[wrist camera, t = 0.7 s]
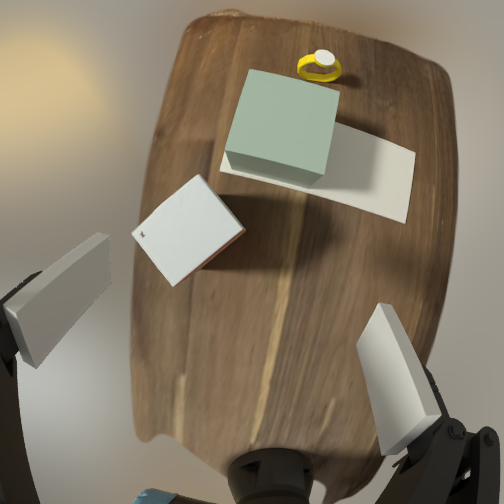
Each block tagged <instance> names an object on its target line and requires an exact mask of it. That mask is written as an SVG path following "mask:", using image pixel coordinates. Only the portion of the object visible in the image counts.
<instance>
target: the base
mask: <svg viewBox="0 0 504 504" xmlns="http://www.w3.org/2000/svg"><path fill="white" fill-rule="evenodd" d="M415 154H416V153H414V152H412V151H410V150H407V149H405V148H403V147H401V146H398V145H396V144H394V143H391V142H389V141H386V140H384V139H381V138H379V137H376V136H374V135H371V134H368V133H366V132H363V131H360V130H357V129H355V128H352V127H349V126H346V125H343V124H340V123H337V122H335V123H334V128H333V133H332V138H331V143H330V148H329V153H328V158H327V163H326V168H325V172H324V175H323V176H322V177H321V178H320V179H319V180H317V181H316V182H315V183H314V184H313V185H311V186H310V187H309V188H308V189H306V188H303V187H299V186H295V185H292V184H288V183H284V182H280V181H276V180H273V179H269V178H265V177H260V176H256V175H252V174H248V173H244V172H239V171H235V170H232V169H231V166H230V164H229V161H228V158H227V155H226V152H225V153H224V156H223V160H222V163H221V167H220V172H225V173H229V174H234V175H238V176H242V177H247V178H251V179H255V180H259V181H263V182H267V183H271V184H275V185H279V186H283V187H287V188H290V189H294V190H298V191H301V192H305V193H309V194H312V195H316V196H319V197H323V198H326V199H329V200H333V201H336V202H340V203H343V204H346V205H349V206H353V207H356V208H359V209H362V210H365V211H368V212H371V213H374V214H377V215H380V216H383V217H386V218H389V219H392V220H395V221H398V222H401V223H403V224H405V222H406V217H407V211H408V205H409V199H410V193H411V186H412V179H413V172H414V163H415Z"/></svg>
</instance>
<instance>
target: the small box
mask: <svg viewBox="0 0 504 504" xmlns="http://www.w3.org/2000/svg"><path fill="white" fill-rule="evenodd" d="M244 232H246V229H245V228H244V227H243V226H242V224H241V223H240V222H239V221H238V219H237V218H236V217H235V216H234V214H233V213H232V212H231V211H230V210H229V208H228V207H227V206H226V205H225V203H224V202H223V201H222V200H221V199H220V197H219V196H218V195H217V194H216V193H215V191H214V190H213V189H212V188H211V187H210V186H209V185H208V183H207V182H206V181H205V180H204V179H203V177H202V176H201V175H200V174H198V175H196V176H195V177H194V178H192V179H191V180H190V181H189V182H187V183H186V184H185V185H184V186H182V187H181V188H180V189H179V190H178V191H177V192H175V193H174V194H173V195H172V196H171V197H169V198H168V199H167V200H166V201H164V202H163V203H162V204H161V205H160V206H159V207H158V208H157V209H155V210H154V212H153V213H152V214H151V215H150V216H149V217H148V218H147V219H146V220H145V221H143V222H142V223H141V224H140V225H139V226H138V227H137V228H136V229H135V230H134V231H133V232H132V235H133V236H134V238H135V239H136V240H137V242H138V243H139V244H140V245H141V247H142V248H143V249H144V251H145V252H146V253H147V255H148V256H149V257H150V258H151V260H152V261H153V262H154V264H155V265H156V266H157V267H158V269H159V270H160V271H161V272H162V274H163V275H164V276H165V278H166V279H167V280H168V281H169V282H170V284H171V285H172V286H173V287H175V286H177V285H178V284H179V283H181V282H182V281H184V280H185V279H187V278H188V277H190V276H191V275H192V274H194V273H196V272H197V271H199V270H200V269H201V268H202V267H203V266H205V265H206V264H207V263H208V262H209V261H210V260H212V259H213V258H214V257H215V256H216V255H218V254H219V253H220V252H221V251H222V250H224V249H225V248H226V247H227V246H228V245H230V244H231V243H232V242H233V241H235V240H236V239H237V238H238V237H239V236H241V235H242V234H243V233H244Z"/></svg>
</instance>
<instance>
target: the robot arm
mask: <svg viewBox="0 0 504 504" xmlns="http://www.w3.org/2000/svg"><path fill="white" fill-rule="evenodd" d="M110 284H111V263H110V235H107V234H103V233H99V232H97V233H96V234H94V235H93V236H91V237H90V238H89V239H87V240H86V241H84V242H83V243H81V244H80V245H78V246H77V247H76V248H74V249H73V250H71V251H70V252H69V253H67V254H66V255H64V256H63V257H62V258H60V259H59V260H58V261H56V262H55V263H54V264H52V265H51V266H50V267H48V268H47V269H46V270H44V271H40V272H37V273H35V274H32V275H30V276H29V277H28V278H27V279H25V280H24V281H23V283H22V282H21V283H20V284H19V285H18V286H17V288H14V289H13V290H12V291H10V292H9V293H8V294H7V295H6V296H5V297H3V298H2V299H1V300H0V504H40V501H39V498H38V495H37V492H36V488H35V485H34V482H33V478H32V474H31V471H30V467H29V462H28V458H27V454H26V448H25V443H24V438H23V431H22V424H21V417H20V408H19V398H18V385H17V384H18V383H17V360H16V357H15V354H16V353H17V352H18V351H19V352H20V354H21V356H22V359H23V361H24V362H26V363H27V364H29V365H31V366H32V367H34V368H35V369H37V368H38V367H39V365H40V364H41V363H42V362H43V360H44V359H45V358H46V356H48V354H49V353H50V352H51V351H52V349H53V348H54V347H55V346H56V345H57V343H58V342H59V341H60V340H61V339H62V338H63V336H64V335H65V334H66V333H67V332H68V330H69V329H70V328H71V327H72V326H73V325H74V324H75V322H76V321H77V320H78V319H79V318H80V317H81V316H82V315H83V313H84V312H85V311H86V310H87V309H88V308H89V307H90V306H91V305H92V304H93V302H94V301H95V300H96V299H97V298H98V297H99V296H100V295H101V294H102V293H103V292H104V291H105V290H106V289H107V287H108V286H109V285H110ZM356 347H357V351H358V354H359V358H360V362H361V366H362V369H363V373H364V377H365V381H366V385H367V389H368V393H369V398H370V402H371V406H372V411H373V415H374V420H375V425H376V429H377V434H378V439H379V444H380V450H381V455H382V456H384V455H396V454H398V453H400V452H401V451H402V450H403V449H404V448H406V447H407V450H408V454H406V455H405V456H404V457H402V458H401V459H400V460H399V461H397V462H396V463H395V464H394V465H393V466H392V467H396V466H397V465H398V464H399V466H398V468H397V470H396V471H395V473H394V475H393V476H392V478H391V480H390V481H389V483H388V485H387V486H386V488H385V489H384V491H383V493H382V494H381V495H380V497H379V498H378V500H377V501H376V503H375V504H499V493H500V443H499V438H498V435H497V433H496V431H494V429H492V428H490V427H487V426H486V427H483V428H482V429H481V430H480V431H479V432H478V433H476V434H475V433H470V432H467V431H466V428H465V427H464V425H463V424H462V423H461V422H460V421H459V420H457V419H455V418H450V417H449V414H448V412H447V409H446V407H445V404H444V402H443V399H442V397H441V395H440V393H439V392H438V391H439V390H438V388H437V386H436V385H435V381H434V379H433V377H432V374H431V373H430V372H429V371H428V369H427V368H426V367H425V366H423V365H421V364H420V361H419V359H418V357H417V355H416V353H415V351H414V349H413V346H412V344H411V342H410V340H409V338H408V336H407V334H406V332H405V330H404V328H403V326H402V324H401V322H400V320H399V318H398V316H397V314H396V312H395V311H394V309H393V307H392V305H389V304H384V303H378V305H377V307H376V309H375V311H374V313H373V315H372V317H371V318H370V320H369V322H368V324H367V326H366V328H365V329H364V331H363V333H362V335H361V337H360V338H359V340H358V342H357V344H356ZM470 470H471V472H470V477H468V478H466V479H465V478H464V476H465V474H466V473H467V472H468V471H470ZM313 480H314V472H313V468H312V464H311V462H310V461H309V459H308V458H307V457H305V456H304V455H302V454H300V453H298V452H295V451H292V450H287V449H277V448H273V449H262V450H257V451H253V452H250V453H247V454H245V455H243V456H241V457H239V458H238V459H236V460H235V461H234V462H233V463H232V465H231V466H230V468H229V473H228V484H229V487H230V490H231V493H232V495H233V497H234V500H235V502H236V504H309V496H310V493H311V488H312V485H313ZM132 504H216V503H211V502H206V501H201V500H197V499H193V498H189V497H185V496H181V495H179V494H177V493H174V494H173V493H169V492H165V491H161V490H158V489H153V488H151V489H146V490H144V491H142V492H141V493H140V494H139V495H138V496H137V497H136V499H135V500H134V502H133V503H132Z"/></svg>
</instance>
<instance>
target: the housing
mask: <svg viewBox="0 0 504 504" xmlns="http://www.w3.org/2000/svg"><path fill="white" fill-rule="evenodd" d="M339 94H340V92H338V91H335V90H332V89H329V88H326V87H322V86H319V85H316V84H312V83H309V82H305V81H301V80H297V79H293V78H289V77H285V76H281V75H277V74H272V73H267V72H262V71H257V70H252V69H250V70H249V73H248V76H247V79H246V82H245V85H244V88H243V91H242V94H241V97H240V100H239V103H238V107H237V110H236V113H235V116H234V120H233V123H232V126H231V130H230V133H229V136H228V140H227V143H226V147H225V152H226V155H227V158H228V161H229V164H230V166H231V169H232V170H235V171H239V172H244V173H248V174H252V175H256V176H260V177H265V178H269V179H273V180H276V181H280V182H284V183H288V184H292V185H295V186H299V187H303V188H306V189H308V188H309V187H310V186H311V185H313V184H314V183H315V182H316V181H317V180H319V179H320V178H321V177H322V176H323V175H324V172H325V168H326V163H327V158H328V153H329V148H330V143H331V138H332V133H333V128H334V123H335V117H336V112H337V106H338V100H339Z"/></svg>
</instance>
